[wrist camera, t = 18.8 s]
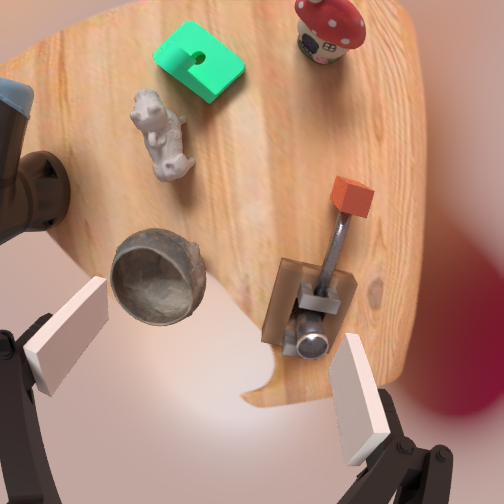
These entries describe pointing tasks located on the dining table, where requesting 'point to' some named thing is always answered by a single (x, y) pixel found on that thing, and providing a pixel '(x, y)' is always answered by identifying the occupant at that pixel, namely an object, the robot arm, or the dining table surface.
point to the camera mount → (184, 58)
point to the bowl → (158, 276)
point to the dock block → (305, 303)
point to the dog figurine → (161, 136)
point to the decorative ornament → (328, 28)
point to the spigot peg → (310, 333)
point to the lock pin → (342, 224)
